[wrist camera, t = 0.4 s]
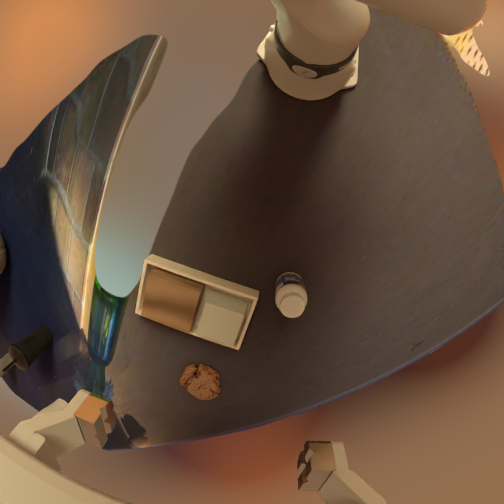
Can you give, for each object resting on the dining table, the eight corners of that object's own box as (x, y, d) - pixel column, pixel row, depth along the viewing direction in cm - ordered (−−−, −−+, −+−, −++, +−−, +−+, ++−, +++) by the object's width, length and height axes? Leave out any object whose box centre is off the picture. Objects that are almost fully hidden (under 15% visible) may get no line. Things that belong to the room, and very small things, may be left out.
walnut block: (158, 265, 55) (148, 273, 51) (206, 282, 56) (200, 292, 51) (150, 304, 58) (140, 315, 53) (195, 321, 58) (189, 333, 53)
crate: (151, 254, 56) (144, 258, 52) (259, 290, 56) (258, 298, 53) (141, 305, 59) (135, 312, 55) (240, 341, 59) (238, 350, 56)
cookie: (199, 400, 65) (197, 408, 62) (172, 370, 63) (168, 378, 60) (232, 387, 63) (231, 395, 60) (205, 355, 61) (202, 363, 58)
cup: (76, 404, 70) (56, 430, 57) (77, 421, 73) (59, 446, 60) (51, 387, 70) (29, 411, 57) (53, 405, 73) (34, 429, 60)
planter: (6, 350, 69) (-11, 364, 59) (14, 356, 69) (-3, 371, 59) (8, 360, 70) (-8, 374, 60) (16, 365, 70) (0, 381, 60)
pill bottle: (308, 278, 55) (315, 299, 45) (295, 302, 56) (299, 326, 47) (283, 266, 54) (285, 285, 45) (270, 290, 56) (269, 313, 46)
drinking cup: (33, 324, 64) (-11, 358, 44) (47, 319, 63) (1, 355, 43) (46, 347, 65) (5, 384, 46) (60, 344, 64) (18, 384, 45)
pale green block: (212, 289, 56) (205, 302, 50) (247, 300, 56) (244, 315, 50) (203, 319, 58) (196, 334, 52) (236, 330, 58) (233, 346, 52)
